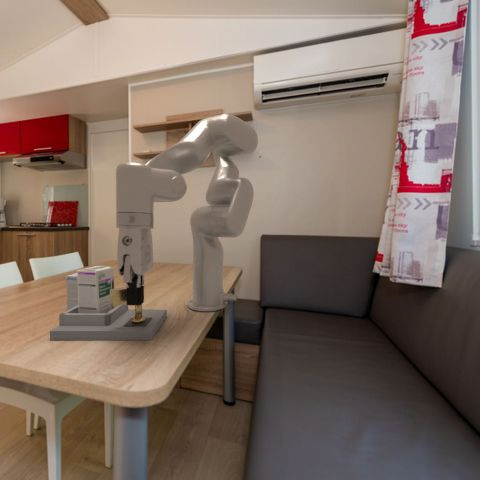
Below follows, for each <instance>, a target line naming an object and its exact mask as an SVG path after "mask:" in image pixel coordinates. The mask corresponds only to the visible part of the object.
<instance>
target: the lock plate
mask: <svg viewBox="0 0 480 480" xmlns="http://www.w3.org/2000/svg"><path fill="white" fill-rule="evenodd" d="M167 312H168V310H167V309H150V308H149V309H143V308H142V316H145V317H146V320H145V321H144V322H141V323H132V322H131V318H132V317H134V316H135V308H134V309H133V308H132V309H129V305H127V304H125V305H120V306H115V308H113V309H112V310H110V311H109V312H108V313H78V305H77V306H75V307H73V308H71V309H69V310H67V309H66V311H63V312H62V313H59V315H58V323H59V324H58V326H56V327H54V328H53V329H51V330H49V340H50V341H152V340H153V338H154V337H155V335H156V334H157V332H158V331H159V329H160V327H161V326H162V325H163V323H164V321H166V318H168V317H167V316H168V314H167Z"/></svg>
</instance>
